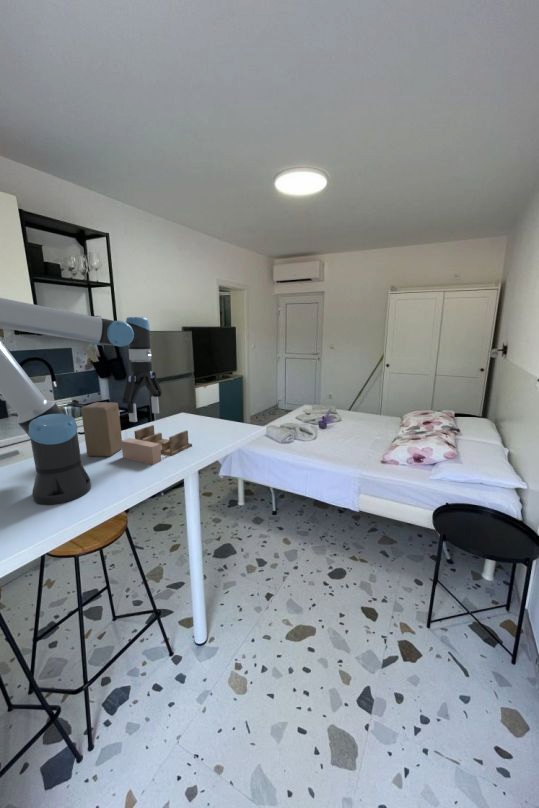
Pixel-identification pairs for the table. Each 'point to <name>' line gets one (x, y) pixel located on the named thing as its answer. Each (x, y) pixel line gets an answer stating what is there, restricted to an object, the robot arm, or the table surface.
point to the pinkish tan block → (141, 451)
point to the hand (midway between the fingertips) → (145, 417)
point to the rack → (164, 440)
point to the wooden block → (102, 428)
